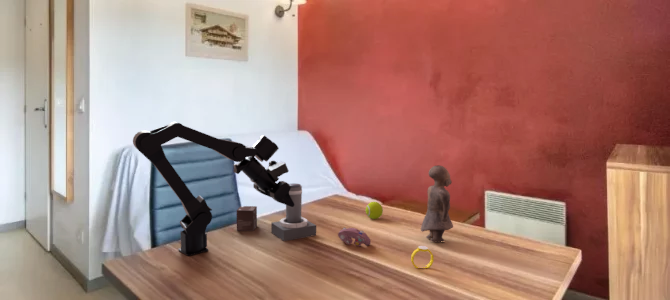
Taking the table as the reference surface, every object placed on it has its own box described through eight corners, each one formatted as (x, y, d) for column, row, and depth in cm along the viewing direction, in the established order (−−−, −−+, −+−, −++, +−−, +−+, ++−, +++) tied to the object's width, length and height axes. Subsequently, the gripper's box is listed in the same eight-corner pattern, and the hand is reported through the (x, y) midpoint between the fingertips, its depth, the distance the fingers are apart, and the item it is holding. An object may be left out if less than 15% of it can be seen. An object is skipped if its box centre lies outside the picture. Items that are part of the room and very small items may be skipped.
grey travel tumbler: (296, 227, 133) (297, 186, 131) (282, 224, 135) (282, 185, 133) (304, 222, 138) (304, 184, 136) (290, 220, 140) (290, 182, 138)
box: (253, 231, 139) (253, 210, 138) (236, 230, 139) (236, 210, 138) (257, 226, 145) (257, 206, 144) (240, 225, 145) (240, 205, 144)
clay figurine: (459, 246, 127) (463, 168, 125) (430, 248, 125) (434, 169, 123) (440, 233, 140) (443, 162, 137) (413, 235, 138) (416, 163, 135)
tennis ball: (362, 216, 159) (363, 200, 158) (378, 215, 161) (378, 199, 160) (369, 221, 153) (369, 204, 152) (385, 220, 155) (385, 203, 154)
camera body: (283, 241, 129) (283, 226, 129) (271, 232, 138) (271, 219, 137) (316, 235, 136) (316, 221, 135) (302, 227, 144) (302, 214, 144)
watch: (430, 266, 112) (432, 246, 111) (433, 270, 109) (436, 249, 108) (409, 265, 111) (411, 245, 110) (412, 269, 108) (414, 248, 108)
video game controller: (338, 247, 129) (334, 231, 126) (344, 237, 132) (340, 221, 129) (367, 253, 125) (364, 236, 121) (372, 242, 128) (369, 226, 125)
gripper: (285, 157, 122) (316, 190, 129) (262, 150, 137) (291, 180, 144) (260, 184, 118) (293, 216, 125) (240, 174, 134) (270, 203, 141)
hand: (287, 202), depth 134 cm, fingers open, 9 cm apart
